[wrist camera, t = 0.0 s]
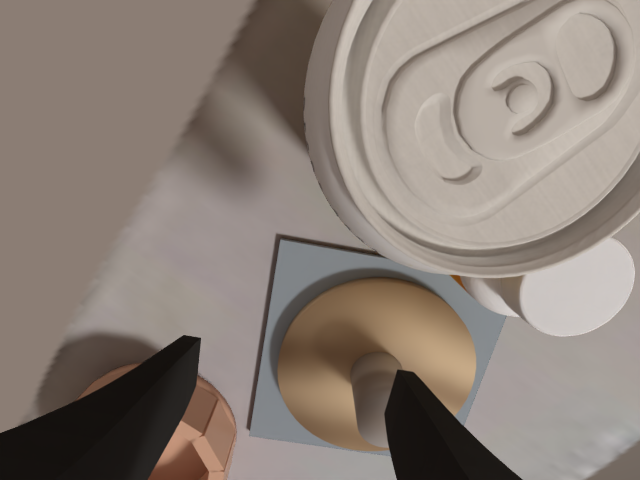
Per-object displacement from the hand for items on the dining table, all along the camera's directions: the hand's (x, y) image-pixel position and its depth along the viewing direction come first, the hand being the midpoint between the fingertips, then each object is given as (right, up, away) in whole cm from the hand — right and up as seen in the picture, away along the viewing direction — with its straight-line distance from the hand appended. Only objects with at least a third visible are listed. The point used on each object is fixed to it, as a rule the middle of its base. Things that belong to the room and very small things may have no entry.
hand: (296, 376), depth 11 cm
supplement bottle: (+10, +6, +9) cm, 15 cm away
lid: (+5, -4, +11) cm, 13 cm away
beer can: (+4, +11, +8) cm, 14 cm away
